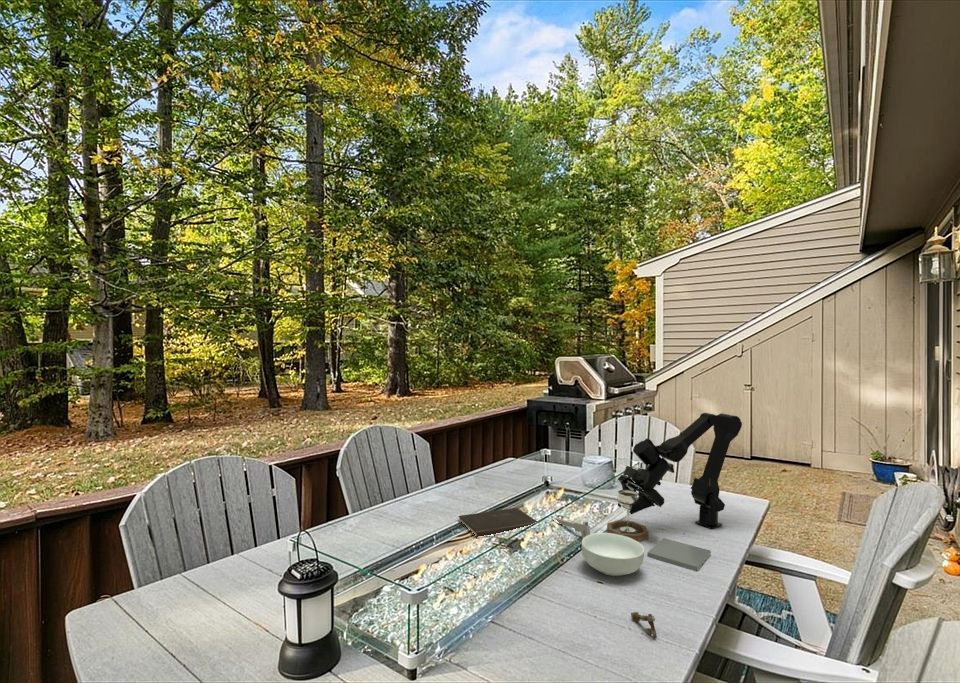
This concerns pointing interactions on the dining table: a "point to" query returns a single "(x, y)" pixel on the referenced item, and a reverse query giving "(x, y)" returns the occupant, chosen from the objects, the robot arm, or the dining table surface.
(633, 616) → the wooden post with brackets
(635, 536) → the ring holder
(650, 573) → the dining table surface
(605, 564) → the cereal bowl
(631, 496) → the wineglass
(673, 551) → the slate board
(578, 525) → the caliper
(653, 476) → the robot arm
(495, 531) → the hardcover book
